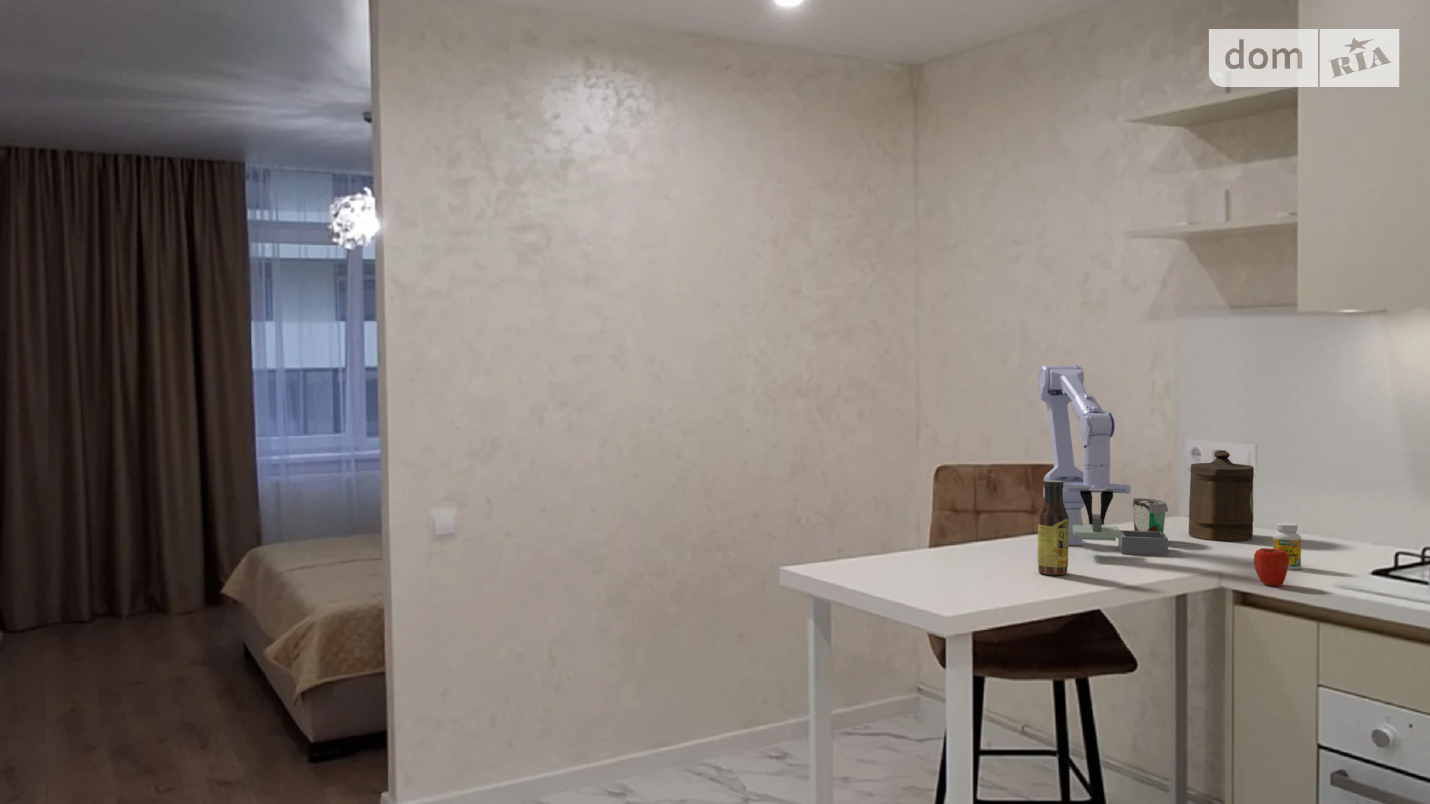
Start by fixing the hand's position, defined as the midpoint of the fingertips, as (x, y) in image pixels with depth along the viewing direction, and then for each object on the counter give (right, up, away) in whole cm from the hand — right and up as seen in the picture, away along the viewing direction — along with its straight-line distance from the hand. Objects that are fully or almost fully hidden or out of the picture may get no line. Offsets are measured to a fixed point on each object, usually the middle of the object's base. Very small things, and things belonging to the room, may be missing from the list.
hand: (1096, 524), depth 254 cm
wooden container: (+41, -6, +26) cm, 49 cm away
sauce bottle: (-16, -9, -18) cm, 25 cm away
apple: (+24, -9, -31) cm, 41 cm away
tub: (+13, -7, +7) cm, 17 cm away
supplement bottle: (+37, -8, -14) cm, 40 cm away
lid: (0, -3, 0) cm, 3 cm away
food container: (+21, -7, +20) cm, 30 cm away
